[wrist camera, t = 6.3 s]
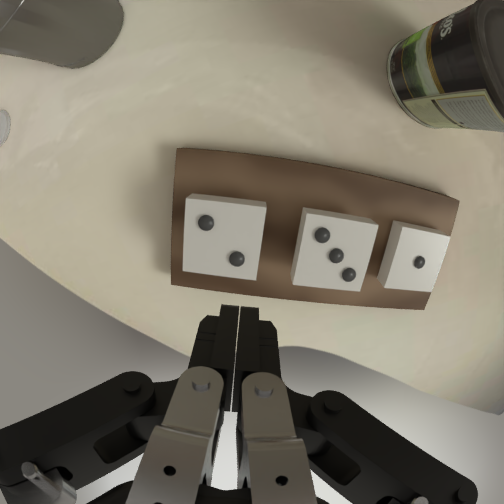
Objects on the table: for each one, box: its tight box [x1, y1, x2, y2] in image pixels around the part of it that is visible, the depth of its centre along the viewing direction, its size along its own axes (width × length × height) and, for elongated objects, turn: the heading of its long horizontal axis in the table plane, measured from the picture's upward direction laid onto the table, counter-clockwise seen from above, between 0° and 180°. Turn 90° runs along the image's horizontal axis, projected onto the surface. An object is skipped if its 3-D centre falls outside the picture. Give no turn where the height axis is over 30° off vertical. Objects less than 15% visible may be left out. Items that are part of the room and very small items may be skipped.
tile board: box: [171, 148, 459, 310], centre depth 26 cm, size 13×28×2 cm, turn 83°
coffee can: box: [387, 0, 504, 132], centre depth 14 cm, size 10×10×14 cm
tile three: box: [290, 207, 379, 292], centre depth 23 cm, size 6×6×2 cm
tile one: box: [377, 220, 450, 292], centre depth 24 cm, size 6×6×2 cm
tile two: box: [183, 193, 267, 280], centre depth 23 cm, size 6×6×2 cm
